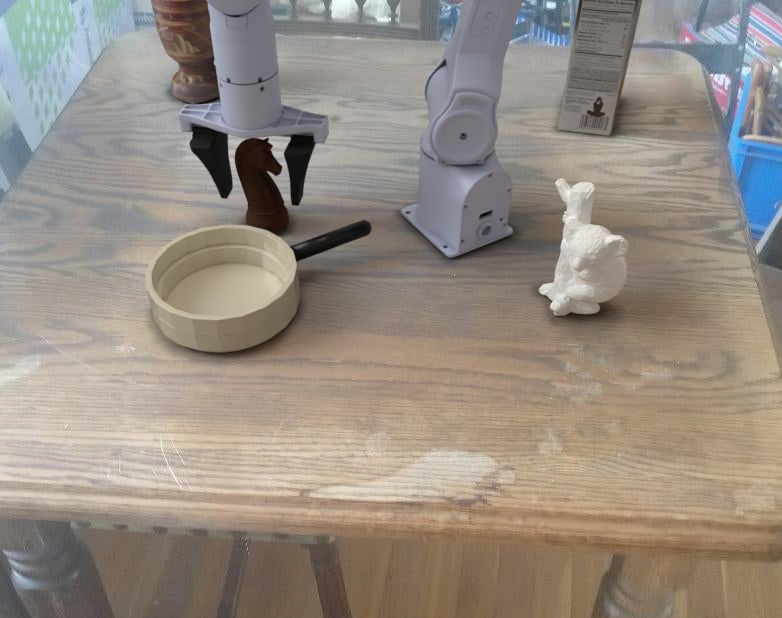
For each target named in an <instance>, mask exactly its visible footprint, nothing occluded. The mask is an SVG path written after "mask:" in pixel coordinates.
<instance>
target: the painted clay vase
mask: <svg viewBox="0 0 782 618" xmlns="http://www.w3.org/2000/svg"><path fill="white" fill-rule="evenodd" d="M150 4H151V9H152V12H153V18H154V22H155V27H156V31H157V34H158V36H159V40H160V42H161V44H162V47H163V49H164V52H165V54H167V56H168V57H169V58H171V59H172V60H173V61H175V62H176V63H177V64H178V68H179V69H178V71H177V72H176V73H175V74H174V75H173V76H172V78H171V84H170V86H171V88H170V89H171V91H170V92H171V93H172V95H173V97H175V98H176V99H178V100H180V101H184V102H186V103H189V104H190V105H198V104H200V103H204V102H207V101H211V100H214V99H217V98H220V93H219V87H218V80H217V73H216V66H215V59H214V52H213V45H212V38H211V31H210V21H211V20H210V13H209V10H208V2H207V1H206V0H150Z"/></svg>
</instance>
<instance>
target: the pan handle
mask: <svg viewBox="0 0 782 618" xmlns="http://www.w3.org/2000/svg"><path fill="white" fill-rule="evenodd" d="M372 228H373V227H372V224H371V222H370V221H368V220H367V219H360V220H358V221H356V222H355V221H354V222H352V223H349V224H347V225H344V226H342V227H339V228H337V229H333V230H331V231H328V232H325V233H322V234H320V235H317V236H314V237H312V238H309V239H306V240H303V241H301V242H298V243H295V244H293V245H289V247H290V248H291V249H292V250H293V252H294V255H295V259H296V262H297V263H298V262H300V261H302V260H306V259H309V258H311V257H314V256H317V255H319V254H321V253H324V252H327V251H330V250H332V249H335V248H337V247H341V246H343V245H345V244H346V245H347V244H349V243H351V242H354V241H357V240H359V239H362V238H365V237H367V236H369V235H370V234H371V232H372Z"/></svg>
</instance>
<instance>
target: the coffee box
mask: <svg viewBox="0 0 782 618" xmlns="http://www.w3.org/2000/svg"><path fill="white" fill-rule="evenodd" d="M642 3H643V0H578V6H577V12H576V17H575V24H574V31H573V34H572V41H571V46H570V47H571V48H570V53H569V54H570V55H569V58H568V65H567V71H566V78H565V83H564V89H563V95H562V101H561V106H560V113H559V119H558V120H559V121H558V126H557V129H558V130H559V131H565V132H572V133H573V132H574V133H581V134H582V133H583V134H589V135H591V134H592V135H599V136H608V137H610V136H611V135H612V132H613V128H614V125H615V121H616V118H617V115H618V114H617V113H618V109H619V104H620V101H621V97H622V92H623V88H624V84H625V80H626V75H627V71H628V68H629V62H630V57H631V53H632V49H633V45H634V40H635V35H636V31H637V26H638V22H639V18H640V12H641V9H642Z"/></svg>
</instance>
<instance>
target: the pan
mask: <svg viewBox="0 0 782 618" xmlns="http://www.w3.org/2000/svg"><path fill="white" fill-rule="evenodd" d="M144 276H145V288H146V293H147V297H148V301H149V304H150V308H151V313H152V316H153V320H154V322H155V323H156V324H157V325H156V326H158V328H159V330H160V332H161V333H162V335H163V336H166V337H167V338H168V339H170V340H171V341H173V342H174V343H175V344H177V345H180V346H182V347H186V348H188V349H192V350H195V351H198V352H205V353H206V352H207V353H219V354H220V353H232V352H238V351H239V352H240V351H243V350H247V349H250V348H253V347H255V346H258V345H260V344H262V343H263V344H264V342H266V341H268V340H271V339H272V338H273V337H275V336H276V335H277V334H279V333H280V332H281V331H283V330H284V329H285V328H286V327H288V325H289V324H290V322H291V321H292V319H293V318H294V317H295V315H296V314H297V312H298V308H299V303H300V299H301V294H300V281H299V269H298V262H296V259H295V255H294V252H293V250H292V249H291V248H290V245H288V243H287V242H286V241H285V240H284V238H283V237H280V236H278V234H277V235H275V234H273V233H271V232H269V231H267V230H264V229H260V228H256V227H252V226H248V225H246V224H227V223H226V224H218V225H217V224H216V225H211V226H203V227H200V228H197V229H195V230H191V231H188V232H185V233H183V234H181V235H179V236H177V237H176V238H174V239H172V240H170V241H169V242H168V243H166V244H164V245H163V246H162V247H161V248H160V249H159V250H158V251H157V252H156V253H155V254H154V256H153V257H151V259H150V262H149V265H148V266H147V269H146V271H145V275H144Z"/></svg>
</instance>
